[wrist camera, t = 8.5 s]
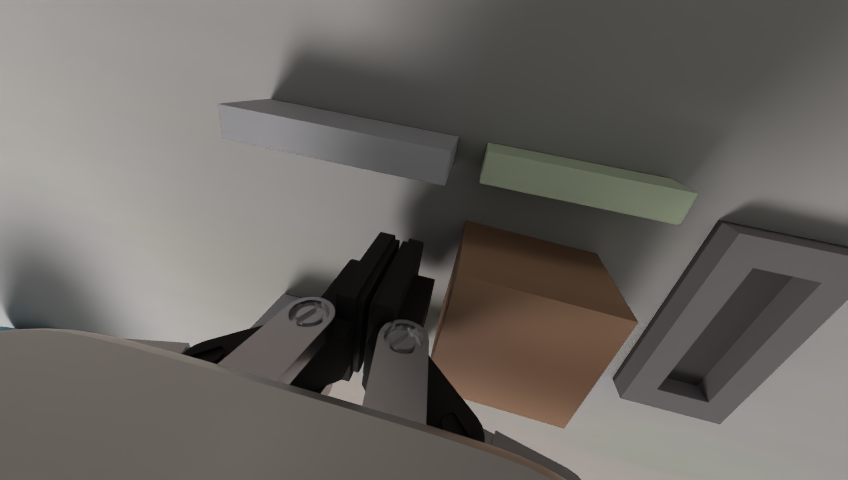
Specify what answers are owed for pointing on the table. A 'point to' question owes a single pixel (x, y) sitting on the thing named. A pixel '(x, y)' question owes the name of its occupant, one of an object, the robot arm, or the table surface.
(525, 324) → the walnut block
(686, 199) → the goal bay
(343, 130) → the walled lane
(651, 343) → the tray
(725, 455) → the table surface
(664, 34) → the table surface
